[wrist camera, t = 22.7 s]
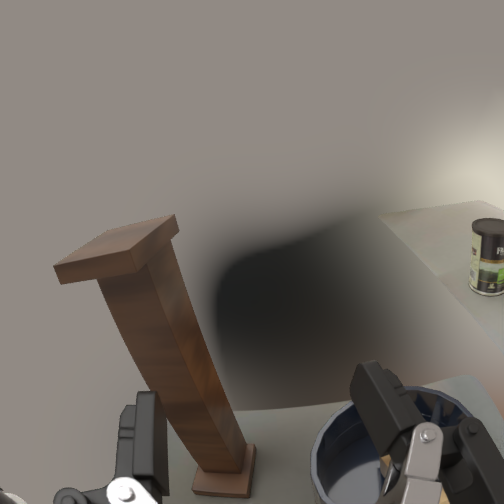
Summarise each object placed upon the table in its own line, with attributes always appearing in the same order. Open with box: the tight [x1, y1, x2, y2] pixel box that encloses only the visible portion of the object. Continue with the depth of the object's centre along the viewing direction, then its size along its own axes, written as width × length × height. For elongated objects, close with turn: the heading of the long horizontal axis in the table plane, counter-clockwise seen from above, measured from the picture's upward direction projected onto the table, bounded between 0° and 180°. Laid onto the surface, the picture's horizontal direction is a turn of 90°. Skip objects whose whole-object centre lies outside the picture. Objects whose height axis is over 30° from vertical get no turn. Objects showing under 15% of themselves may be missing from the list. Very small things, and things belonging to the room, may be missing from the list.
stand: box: [53, 214, 256, 498], centre depth 27 cm, size 8×7×32 cm
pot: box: [311, 386, 473, 504], centre depth 23 cm, size 17×17×9 cm
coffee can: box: [469, 218, 504, 296], centre depth 51 cm, size 10×10×14 cm
